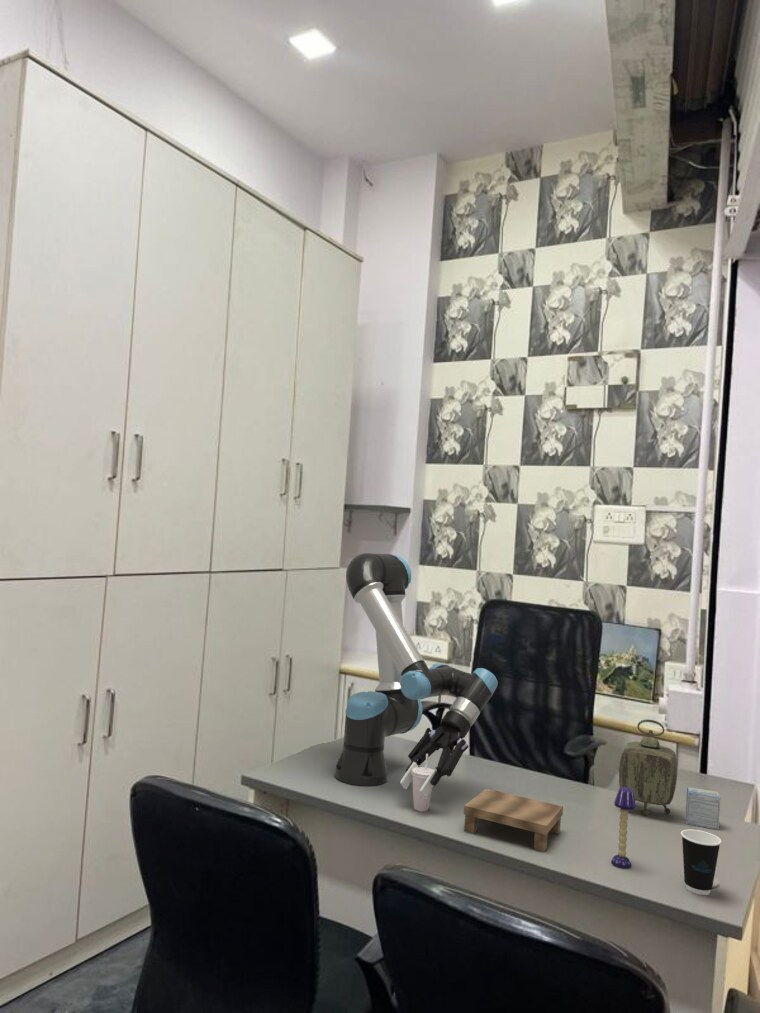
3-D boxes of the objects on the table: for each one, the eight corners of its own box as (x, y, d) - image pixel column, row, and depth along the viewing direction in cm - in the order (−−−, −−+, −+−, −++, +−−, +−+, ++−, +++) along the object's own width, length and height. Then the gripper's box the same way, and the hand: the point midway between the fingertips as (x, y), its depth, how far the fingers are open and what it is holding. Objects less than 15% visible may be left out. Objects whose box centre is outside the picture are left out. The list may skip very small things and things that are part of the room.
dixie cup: (697, 900, 151) (700, 845, 152) (669, 882, 159) (672, 830, 159) (727, 896, 154) (730, 842, 155) (698, 879, 161) (701, 827, 162)
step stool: (462, 830, 178) (464, 805, 179) (484, 812, 192) (485, 788, 193) (544, 852, 169) (546, 826, 169) (561, 831, 183) (563, 806, 184)
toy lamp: (607, 859, 168) (612, 784, 169) (627, 860, 169) (631, 785, 170) (615, 868, 164) (620, 791, 165) (636, 869, 164) (640, 792, 165)
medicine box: (717, 825, 197) (719, 791, 198) (718, 830, 193) (720, 796, 193) (685, 819, 200) (686, 786, 200) (686, 824, 195) (688, 791, 196)
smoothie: (431, 815, 187) (435, 758, 188) (406, 811, 188) (410, 755, 189) (434, 806, 193) (438, 752, 194) (410, 802, 195) (414, 748, 195)
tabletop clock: (675, 814, 203) (680, 721, 204) (673, 824, 195) (678, 728, 196) (619, 802, 209) (625, 712, 210) (615, 812, 201) (621, 718, 202)
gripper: (493, 736, 195) (447, 810, 183) (439, 719, 209) (393, 787, 197) (482, 717, 192) (434, 792, 180) (427, 701, 206) (380, 770, 194)
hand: (412, 789), depth 189 cm, fingers closed on smoothie, 6 cm apart
